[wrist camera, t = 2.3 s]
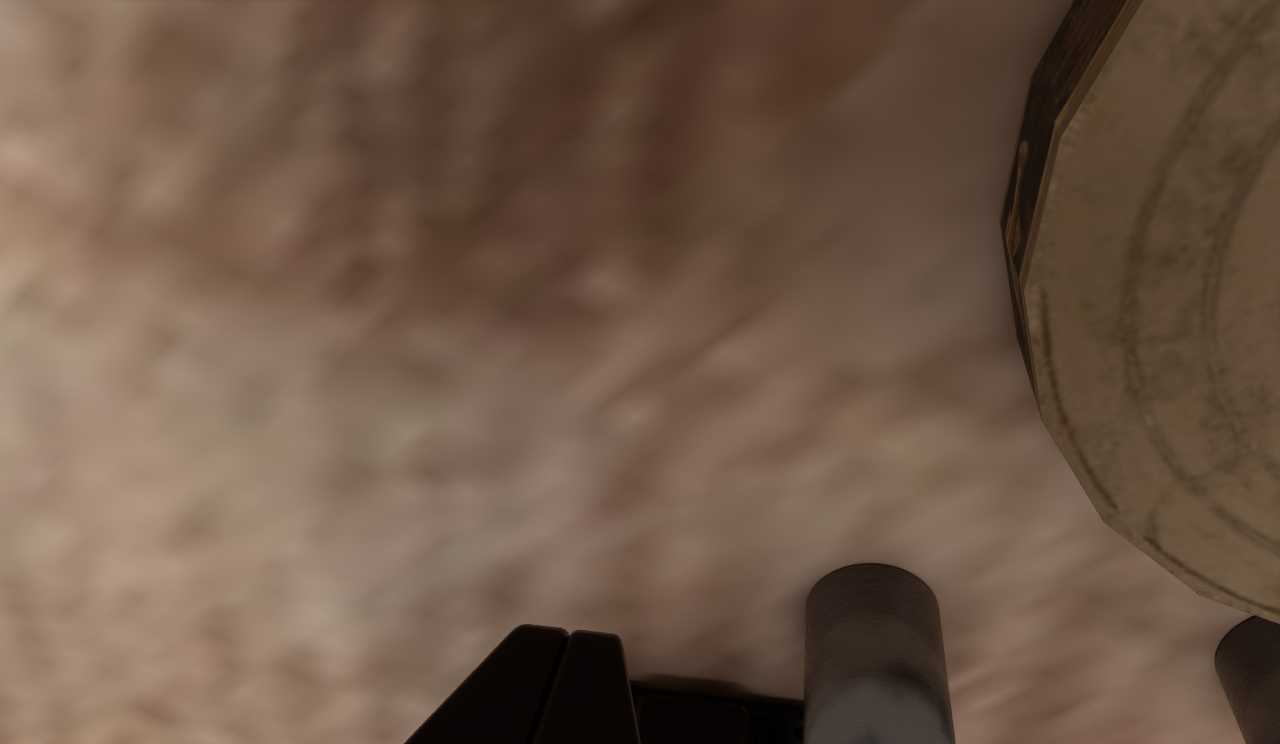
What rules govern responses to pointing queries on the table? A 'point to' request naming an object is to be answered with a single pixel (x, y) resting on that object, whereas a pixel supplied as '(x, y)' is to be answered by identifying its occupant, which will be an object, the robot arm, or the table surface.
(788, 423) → the table surface
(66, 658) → the table surface
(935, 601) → the grey metal cylinder set
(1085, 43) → the brown wooden disc
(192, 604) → the table surface
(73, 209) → the table surface
